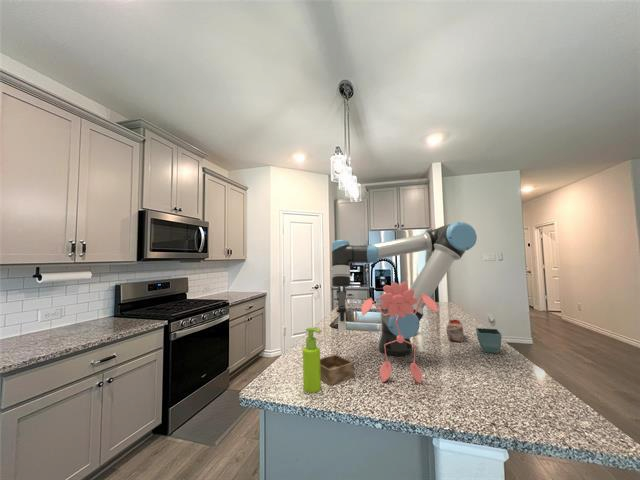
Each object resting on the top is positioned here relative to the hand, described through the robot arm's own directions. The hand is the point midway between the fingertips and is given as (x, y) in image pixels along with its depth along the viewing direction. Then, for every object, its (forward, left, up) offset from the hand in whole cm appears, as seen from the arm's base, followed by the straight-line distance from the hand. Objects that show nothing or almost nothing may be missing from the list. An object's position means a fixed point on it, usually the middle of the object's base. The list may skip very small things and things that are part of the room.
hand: (341, 330), depth 109 cm
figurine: (-19, +15, -15) cm, 28 cm away
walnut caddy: (+4, +6, -15) cm, 17 cm away
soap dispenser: (+11, +16, -15) cm, 24 cm away
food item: (-61, -34, -15) cm, 71 cm away
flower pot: (-67, -15, -15) cm, 70 cm away
